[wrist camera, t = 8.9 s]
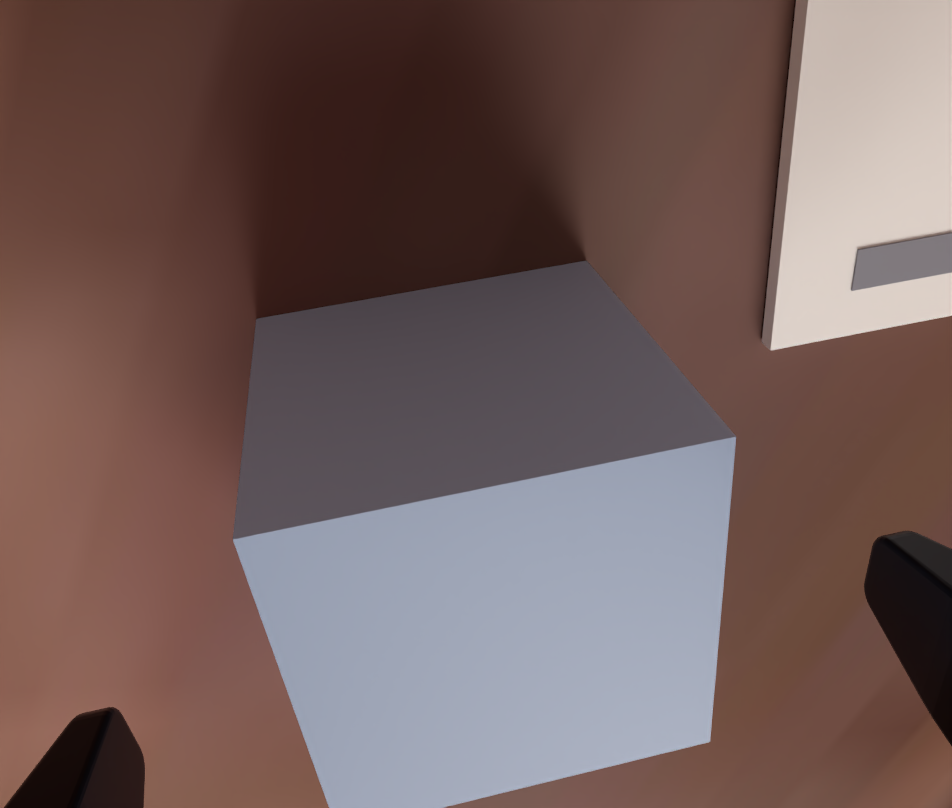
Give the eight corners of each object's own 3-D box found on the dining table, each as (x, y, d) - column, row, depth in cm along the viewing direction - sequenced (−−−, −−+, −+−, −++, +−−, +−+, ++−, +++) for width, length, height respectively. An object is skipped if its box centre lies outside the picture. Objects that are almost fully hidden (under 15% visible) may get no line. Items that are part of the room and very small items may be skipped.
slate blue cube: (585, 259, 12) (735, 436, 8) (593, 509, 15) (709, 741, 11) (256, 316, 12) (232, 539, 7) (326, 565, 14) (338, 833, 10)
